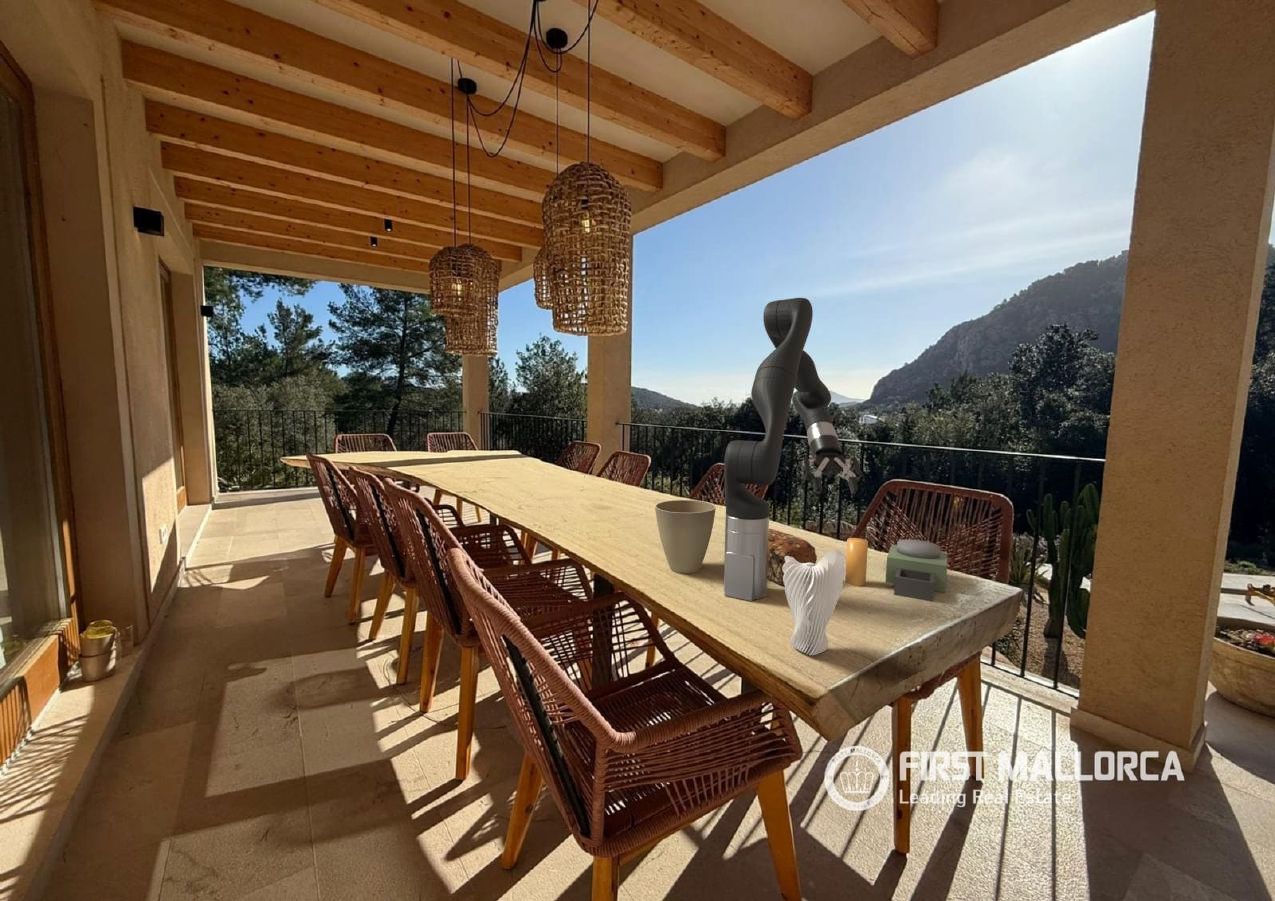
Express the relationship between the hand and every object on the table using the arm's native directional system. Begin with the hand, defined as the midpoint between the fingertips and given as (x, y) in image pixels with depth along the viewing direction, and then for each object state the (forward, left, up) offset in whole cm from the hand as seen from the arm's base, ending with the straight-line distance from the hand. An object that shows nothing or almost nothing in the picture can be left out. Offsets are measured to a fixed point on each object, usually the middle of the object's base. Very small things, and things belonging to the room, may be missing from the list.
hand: (837, 492), depth 132 cm
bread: (-13, +12, -19) cm, 26 cm away
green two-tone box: (-5, -19, -19) cm, 27 cm away
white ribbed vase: (-50, -5, -19) cm, 54 cm away
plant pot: (-23, +31, -19) cm, 43 cm away
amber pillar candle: (-11, -7, -19) cm, 23 cm away
